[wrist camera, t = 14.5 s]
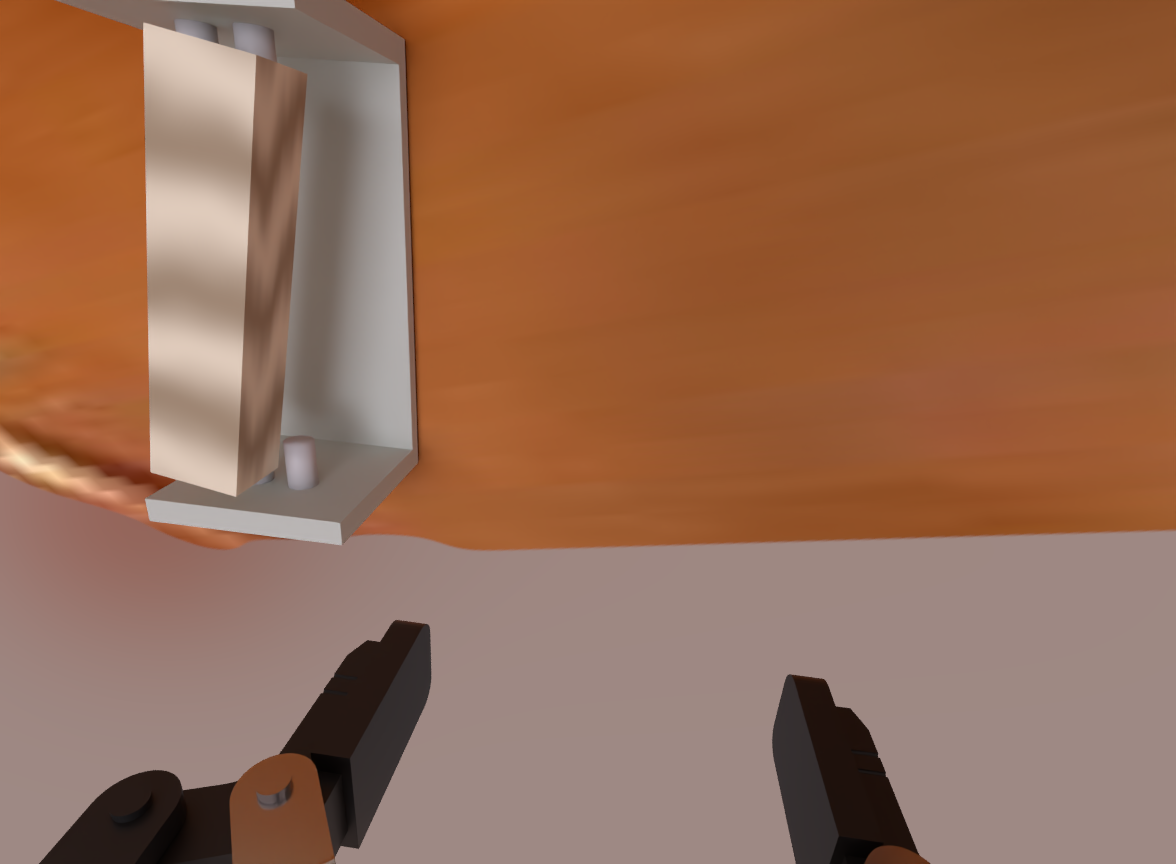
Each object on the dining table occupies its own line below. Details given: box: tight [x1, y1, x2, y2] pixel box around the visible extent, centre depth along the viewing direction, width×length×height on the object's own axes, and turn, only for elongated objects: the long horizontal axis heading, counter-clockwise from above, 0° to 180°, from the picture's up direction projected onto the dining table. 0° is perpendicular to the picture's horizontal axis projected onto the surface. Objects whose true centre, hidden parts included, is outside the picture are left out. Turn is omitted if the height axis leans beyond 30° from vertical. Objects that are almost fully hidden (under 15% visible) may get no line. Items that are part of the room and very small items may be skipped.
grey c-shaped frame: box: [56, 0, 418, 545], centre depth 36 cm, size 28×12×12 cm, turn 176°
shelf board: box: [143, 22, 307, 497], centre depth 31 cm, size 22×5×4 cm, turn 165°
